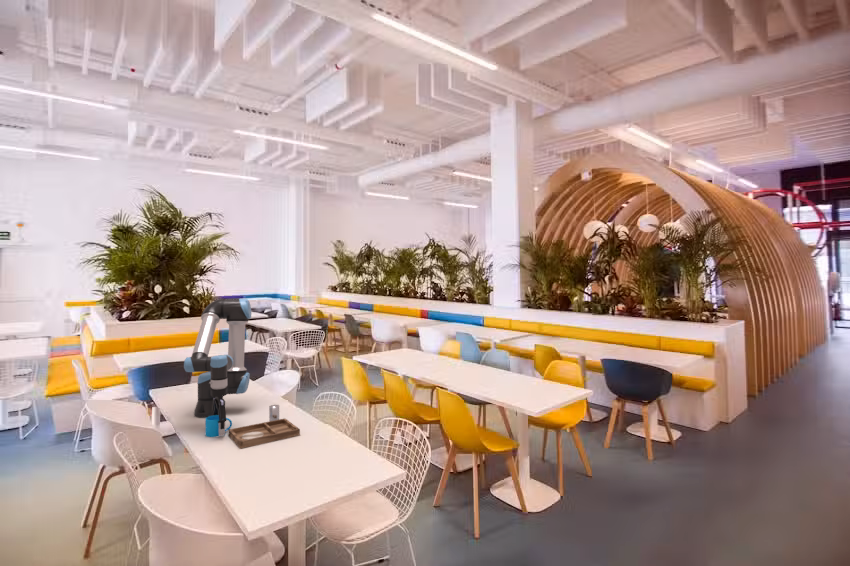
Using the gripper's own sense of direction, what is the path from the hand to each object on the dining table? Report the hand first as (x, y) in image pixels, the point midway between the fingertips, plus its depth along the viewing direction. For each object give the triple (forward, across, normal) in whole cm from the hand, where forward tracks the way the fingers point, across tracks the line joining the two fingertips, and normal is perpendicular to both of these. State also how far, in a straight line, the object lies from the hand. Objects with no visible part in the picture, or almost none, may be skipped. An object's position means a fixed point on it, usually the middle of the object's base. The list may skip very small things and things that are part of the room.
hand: (219, 431), depth 217 cm
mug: (+1, 0, 0) cm, 1 cm away
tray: (+1, +16, +17) cm, 23 cm away
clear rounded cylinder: (+1, +1, +27) cm, 27 cm away
